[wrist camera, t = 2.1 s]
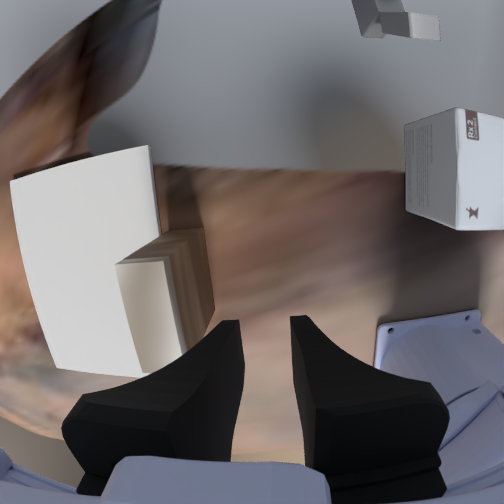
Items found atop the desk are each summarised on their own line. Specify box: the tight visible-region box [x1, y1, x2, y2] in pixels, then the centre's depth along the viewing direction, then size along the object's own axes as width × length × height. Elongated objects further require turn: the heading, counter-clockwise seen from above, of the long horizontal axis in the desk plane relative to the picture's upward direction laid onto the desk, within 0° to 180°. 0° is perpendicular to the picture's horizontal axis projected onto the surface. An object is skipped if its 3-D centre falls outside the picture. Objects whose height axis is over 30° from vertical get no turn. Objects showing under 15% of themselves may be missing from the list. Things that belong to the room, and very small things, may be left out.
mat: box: [10, 145, 162, 378], centre depth 23 cm, size 14×18×1 cm
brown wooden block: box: [115, 227, 215, 373], centre depth 18 cm, size 2×6×8 cm, turn 5°
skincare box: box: [404, 107, 504, 230], centre depth 15 cm, size 6×6×7 cm
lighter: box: [352, 0, 440, 41], centre depth 13 cm, size 7×2×8 cm, turn 8°
